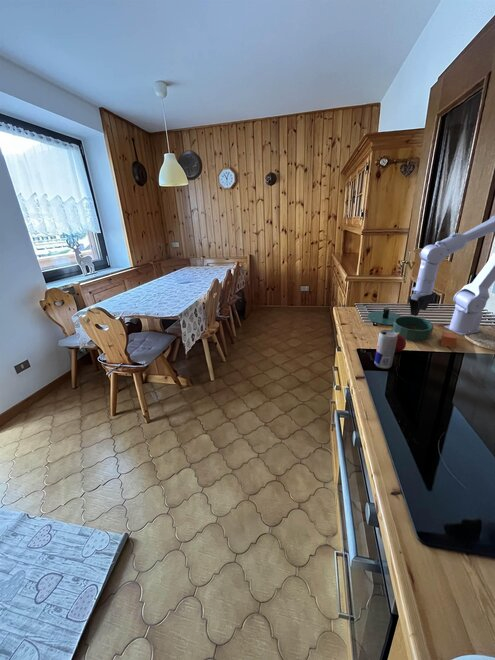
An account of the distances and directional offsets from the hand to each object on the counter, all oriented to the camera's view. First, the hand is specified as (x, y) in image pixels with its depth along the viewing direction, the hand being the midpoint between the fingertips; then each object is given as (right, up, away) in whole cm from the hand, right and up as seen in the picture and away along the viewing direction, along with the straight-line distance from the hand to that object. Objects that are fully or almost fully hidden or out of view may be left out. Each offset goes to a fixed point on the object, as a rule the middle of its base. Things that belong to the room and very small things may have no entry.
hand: (418, 312), depth 111 cm
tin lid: (-6, -2, +15) cm, 16 cm away
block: (+7, -12, -7) cm, 15 cm away
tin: (-2, -9, +2) cm, 9 cm away
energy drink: (-21, -19, -15) cm, 32 cm away
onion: (-14, -15, -9) cm, 23 cm away
